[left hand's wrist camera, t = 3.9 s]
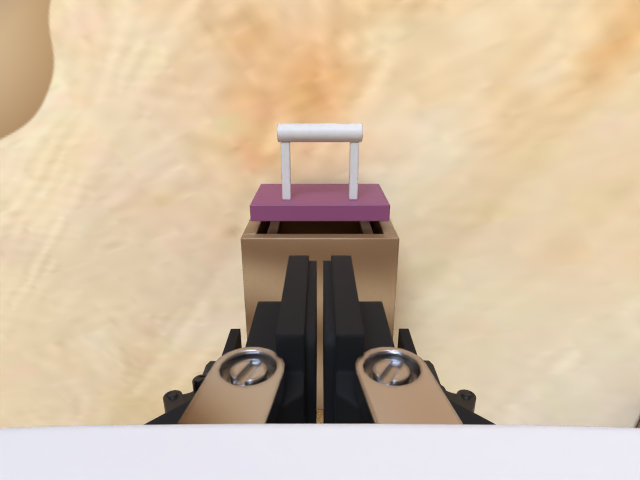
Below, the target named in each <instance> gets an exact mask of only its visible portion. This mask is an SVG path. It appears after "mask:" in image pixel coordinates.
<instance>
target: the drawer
mask: <svg viewBox="0 0 640 480" xmlns="http://www.w3.org/2000/svg"><path fill="white" fill-rule="evenodd" d="M362 138H363V126H362V124H278V125H277V139H278V142H281V167H282V184H261V185H260V187H259V189H258V191H257V193H256V195H255V197H254V199H253V201H252V202H251V204H250V216H251V221H271V222H270V225H269V228H268V231H267V234H373V231H372V228H371V225H370V222H369V221H389V215H390V204H389V203H388V201H387V199H386V197H385V195H384V193H383V191H382V189H381V187H380V186H379V184H358V164H359V142H362ZM290 142H350V164H349V184H291V167H290Z"/></svg>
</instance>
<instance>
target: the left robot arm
mask: <svg viewBox="0 0 640 480" xmlns="http://www.w3.org/2000/svg"><path fill="white" fill-rule="evenodd" d="M316 409H317V261H309V255H289V258H288V264H287V270H286V276H285V282H284V287H283V293H282V299H281V301H258V303H257V306H256V310H255V314H254V317H253V321H252V325H251V328H250V332H249V336H248V339H247V343H246V347H245V348H240V349H236V350H233V351H230V352H228V353H226V354H224V355H223V356H221V357H220V358H219V359H218V360H217V361H216V362H215V363H214V364H213V366H212V368H211V369H210V371H209V373H208V374H207V376H206V377H205V379H204V381H203V382H202V384H201V386H200V387H199V389H198V390H197V392H196V394H195V395H194V397H193V399H191V400H189V401H187V402H186V403H184V404H182V405H180V406H178V407H176V408H174V409H172V410H171V411H169V412H167V413H165V414H163V415H161V416H159V417H157V418H156V419H154V420H152V421H150V422H148V423H146V424H144V425H89V426H49V427H19V428H0V480H640V428H625V427H589V426H554V425H496V424H494V423H492V422H490V421H488V420H486V419H484V418H483V417H481V416H479V415H477V414H475V413H473V412H471V411H469V410H468V409H466V408H464V407H462V406H460V405H458V404H456V403H454V402H453V401H451V400H449V399H447V397H446V395H445V394H444V392H443V390H442V389H441V387H440V386H439V384H438V382H437V381H436V379H435V377H434V376H433V374H432V373H431V371H430V369H429V368H428V366H427V364H426V363H425V362H424V361H423V360H422V359H421V358H420V357H419V356H417V355H416V354H414V353H412V352H410V351H407V350H404V349H400V348H395V347H394V343H393V340H392V336H391V332H390V328H389V325H388V321H387V317H386V314H385V310H384V306H383V303H382V301H359V299H358V293H357V287H356V282H355V276H354V270H353V264H352V258H351V255H331V261H323V409H324V424H316Z"/></svg>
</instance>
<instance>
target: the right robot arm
mask: <svg viewBox="0 0 640 480" xmlns="http://www.w3.org/2000/svg"><path fill="white" fill-rule="evenodd" d="M240 348H242V346H241V332H240V329H231V330H230V333H229V336H228V339H227V342H226V345H225V348H224V351H223V354H222V356H223V355H224V354H226V353H228V352H230V351H233V350H236V349H240ZM398 348H400V349H404V350H407V351H410V352H412V353H414V354H416V355H417V353H416V350H415V347H414V344H413V341H412V338H411V335H410V332H409V329H399V336H398ZM215 362H216V361H210V362H209V363H208V364H207V365H206V367H205V370H204V372H203V375H198V376H196V377H195V378H194V379H193V381H192V383H193V392H191V393H187V394H182V392H181V391H178V390H173V391H170V392H167V393H166V394H165V395H164V397H163V401H164V408H165V413H167V412H169V411H171V410H172V409H174V408H176V407H178V406H180V405H182V404H184V403H186V402H187V401H189V400H191V399H193V397H194V395H195V394H196V392H197V390H198V389H199V387H200V386H201V384H202V382H203V381H204V379H205V377H206V376H207V374H208V373H209V371H210V369H211V368H212V366H213V364H214V363H215ZM424 362H425V363H426V364H427V366H428V368H429V369H430V371H431V373H432V374H433V376H434V377H435V379H436V381H437V382H438V384H439V386H440V387H441V389H442V390H443V392H444V394H445V395H446V397H447V399H449V400H451V401H453V402H454V403H456V404H458V405H460V406H462V407H464V408H466V409H468V410H469V411H471V412H473V413H474V409H475V402H476V396H475V394H474V393H473V392H471V391H469V390H460V391H458V392H457V394H454V393H450V392H448V391H446V390H445V388H444V387H443V386H442V385H441V384H440V382H439V379H438V376H437V374H436V371H435V368H434V366H433V364H432V363H431V362H430V361H424Z"/></svg>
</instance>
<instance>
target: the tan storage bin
mask: <svg viewBox="0 0 640 480" xmlns="http://www.w3.org/2000/svg"><path fill="white" fill-rule="evenodd" d="M270 222H271V221H251V218H250V221H249V223H248V225H247V227H246V229H245V231H244V233H243V235H242V237H241V249H242V265H243V280H244V296H245V311H246V327H247V339H248V336H249V332H250V328H251V325H252V321H253V317H254V314H255V310H256V306H257V303H258V301H281V299H282V293H283V287H284V282H285V276H286V270H287V264H288V258H289V255H309V261H317V409H316V410H324V409H323V261H331V255H351V258H352V264H353V270H354V276H355V282H356V287H357V293H358V299H359V301H382V303H383V306H384V310H385V314H386V317H387V321H388V325H389V328H390V332H391V336H392V340H393V327H394V311H395V295H396V280H397V264H398V249H399V238H398V235H397V233H396V231H395V229H394V227H393V225H392V223H391V221H390V219H389V221H369V222H370V225H371V228H372V231H373V234H267V231H268V228H269V225H270Z"/></svg>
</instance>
